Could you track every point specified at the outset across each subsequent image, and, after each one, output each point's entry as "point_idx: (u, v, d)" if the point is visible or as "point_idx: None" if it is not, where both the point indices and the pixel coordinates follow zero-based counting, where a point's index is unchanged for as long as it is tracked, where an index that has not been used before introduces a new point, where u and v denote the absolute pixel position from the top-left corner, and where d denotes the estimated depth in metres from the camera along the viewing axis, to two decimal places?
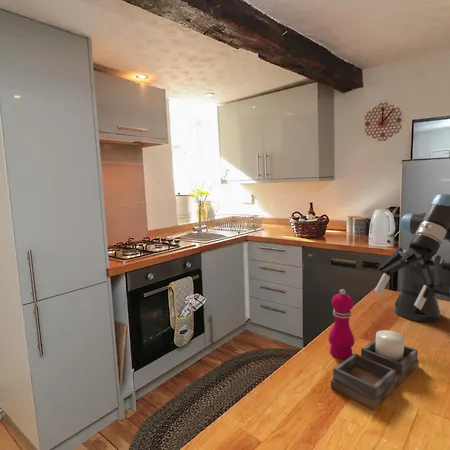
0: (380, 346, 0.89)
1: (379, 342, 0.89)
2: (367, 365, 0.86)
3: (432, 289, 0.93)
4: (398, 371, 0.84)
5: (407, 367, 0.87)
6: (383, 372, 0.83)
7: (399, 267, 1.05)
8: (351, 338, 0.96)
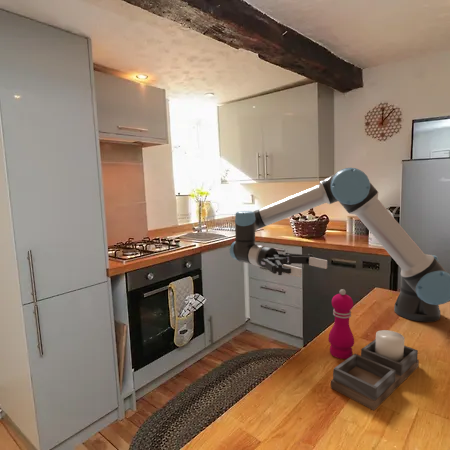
0: (380, 346, 0.89)
1: (379, 342, 0.89)
2: (367, 365, 0.86)
3: (280, 269, 1.02)
4: (398, 371, 0.84)
5: (407, 367, 0.87)
6: (383, 372, 0.83)
7: (296, 259, 1.13)
8: (351, 338, 0.96)
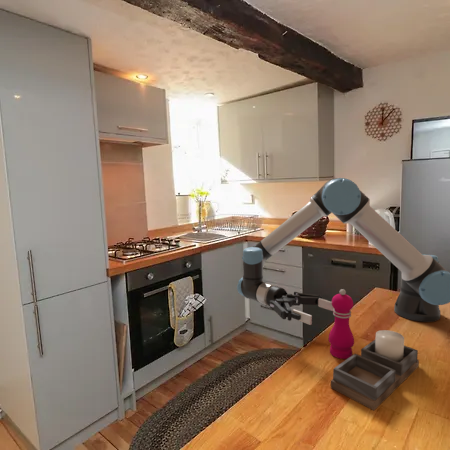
0: (380, 346, 0.89)
1: (379, 342, 0.89)
2: (367, 365, 0.86)
3: (290, 315, 1.01)
4: (398, 371, 0.84)
5: (407, 367, 0.87)
6: (383, 372, 0.83)
7: (305, 300, 1.12)
8: (351, 338, 0.96)
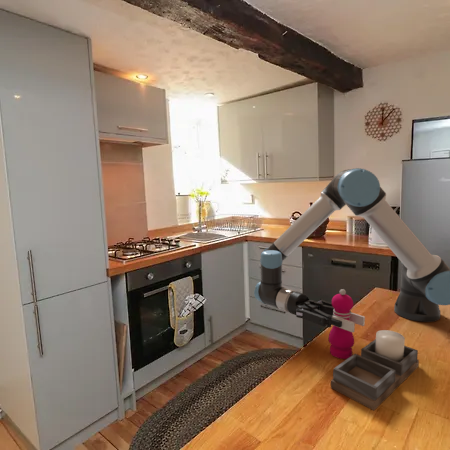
0: (381, 346, 0.89)
1: (380, 342, 0.89)
2: (367, 365, 0.86)
3: (330, 322, 0.95)
4: (398, 371, 0.84)
5: (407, 367, 0.87)
6: (383, 372, 0.83)
7: (327, 309, 1.03)
8: (351, 338, 0.96)
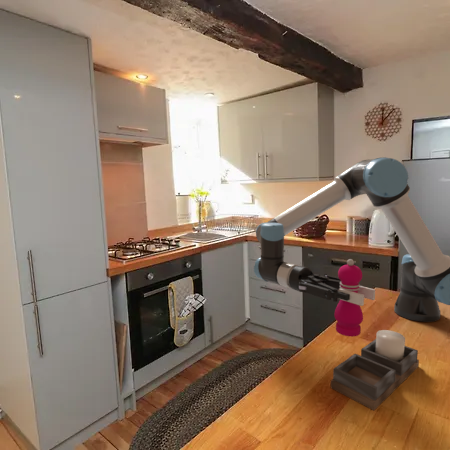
0: (381, 346, 0.89)
1: (381, 342, 0.89)
2: (367, 365, 0.86)
3: (336, 295, 0.86)
4: (398, 371, 0.84)
5: (407, 367, 0.87)
6: (383, 372, 0.83)
7: (333, 283, 0.93)
8: (360, 313, 0.86)
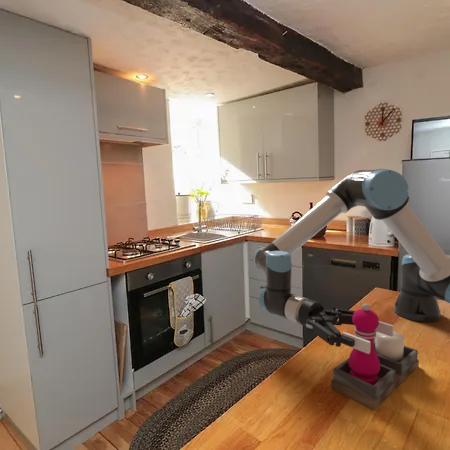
0: (381, 347, 0.89)
1: (380, 343, 0.89)
2: None
3: (340, 340, 0.78)
4: (398, 371, 0.84)
5: (407, 367, 0.87)
6: (383, 372, 0.83)
7: (348, 319, 0.88)
8: (377, 363, 0.79)
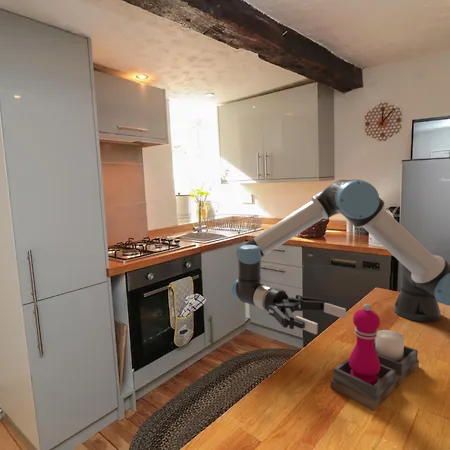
0: (382, 346, 0.89)
1: (381, 342, 0.89)
2: None
3: (292, 323, 0.87)
4: (398, 371, 0.84)
5: (407, 367, 0.87)
6: (383, 372, 0.83)
7: (309, 304, 0.98)
8: (377, 363, 0.79)
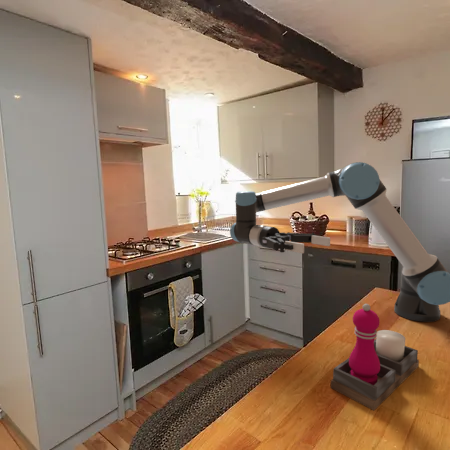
0: (384, 347, 0.88)
1: (383, 343, 0.89)
2: None
3: (282, 246, 1.00)
4: (398, 371, 0.84)
5: (407, 367, 0.87)
6: (383, 372, 0.83)
7: (298, 237, 1.11)
8: (377, 363, 0.79)
